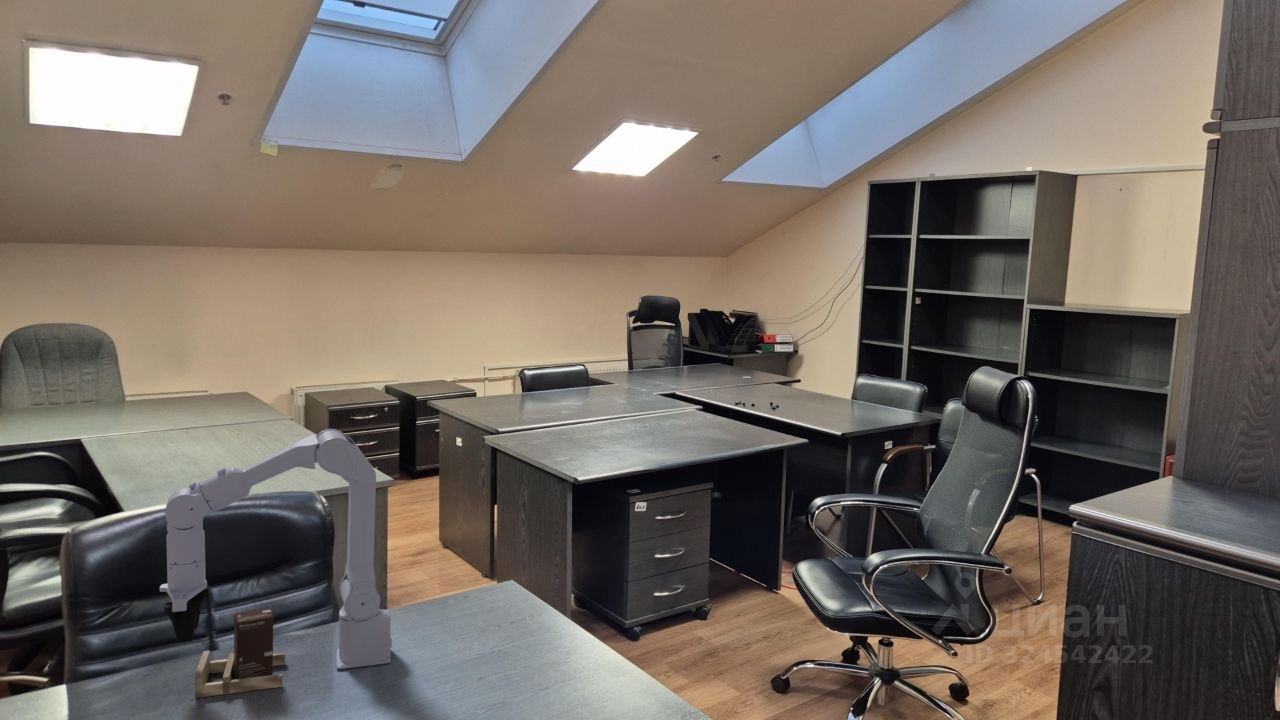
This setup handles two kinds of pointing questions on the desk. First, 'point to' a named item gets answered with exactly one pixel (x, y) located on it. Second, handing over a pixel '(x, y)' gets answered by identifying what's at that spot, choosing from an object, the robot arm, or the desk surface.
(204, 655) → the wooden slat rack
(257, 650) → the box
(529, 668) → the desk surface
